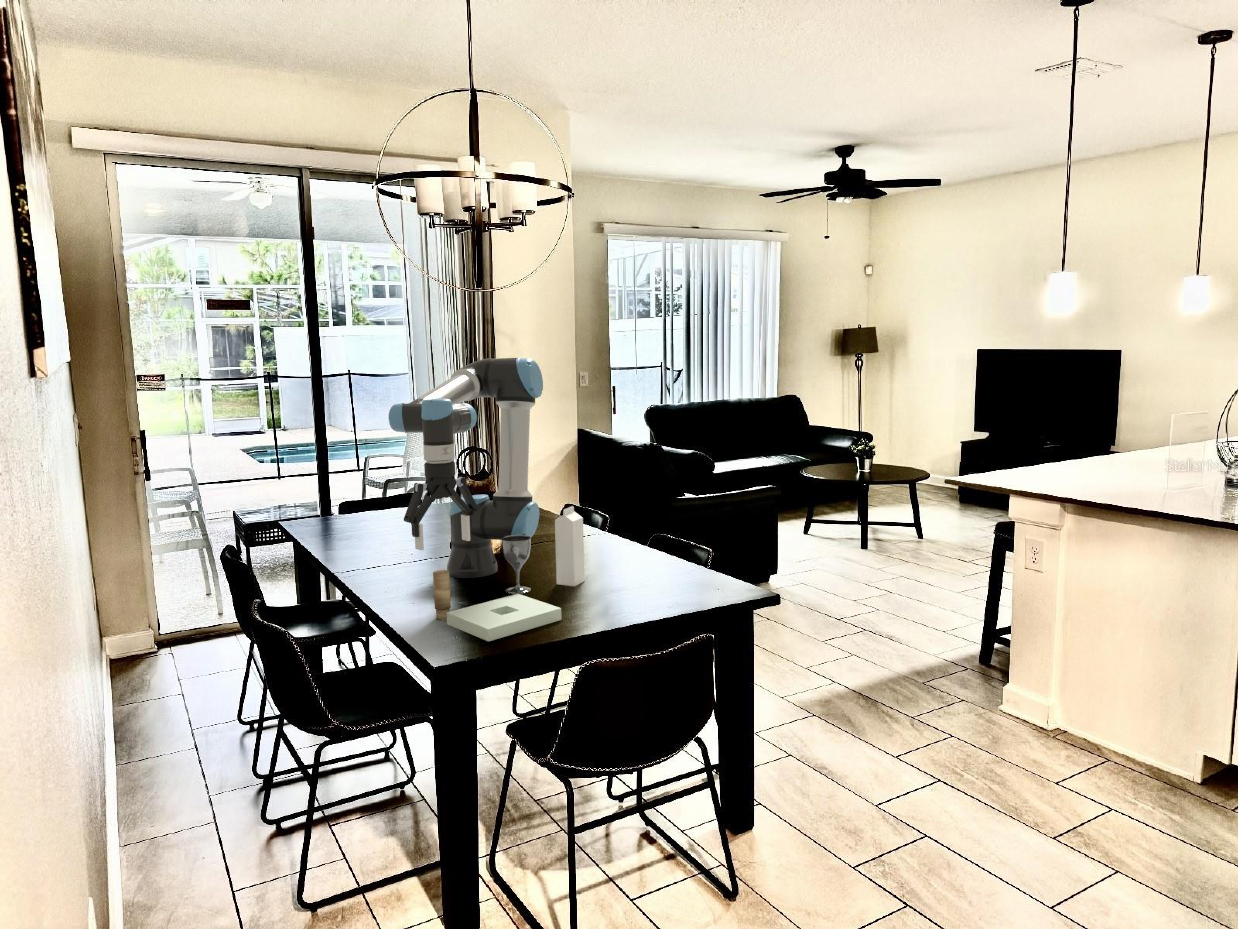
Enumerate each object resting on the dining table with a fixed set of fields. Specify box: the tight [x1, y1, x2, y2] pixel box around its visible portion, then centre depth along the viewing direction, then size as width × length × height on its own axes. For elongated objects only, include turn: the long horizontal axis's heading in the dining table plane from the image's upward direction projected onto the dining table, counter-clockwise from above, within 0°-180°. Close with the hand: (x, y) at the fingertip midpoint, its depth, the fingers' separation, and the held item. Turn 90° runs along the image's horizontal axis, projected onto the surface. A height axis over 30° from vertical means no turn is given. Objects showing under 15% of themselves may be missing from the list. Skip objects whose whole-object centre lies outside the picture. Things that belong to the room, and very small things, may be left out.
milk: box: [554, 505, 585, 587], centre depth 251 cm, size 6×6×22 cm
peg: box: [432, 569, 452, 621], centre depth 222 cm, size 4×4×12 cm
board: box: [446, 594, 562, 642], centre depth 219 cm, size 18×22×3 cm
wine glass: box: [501, 535, 532, 595], centre depth 245 cm, size 8×8×15 cm
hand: (443, 544), depth 221 cm, fingers open, 13 cm apart
